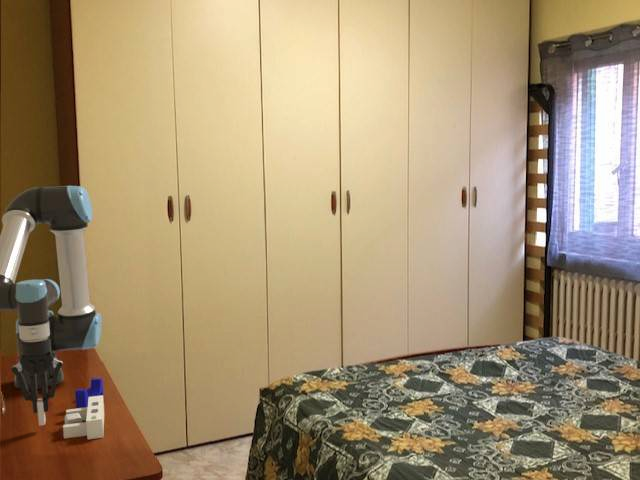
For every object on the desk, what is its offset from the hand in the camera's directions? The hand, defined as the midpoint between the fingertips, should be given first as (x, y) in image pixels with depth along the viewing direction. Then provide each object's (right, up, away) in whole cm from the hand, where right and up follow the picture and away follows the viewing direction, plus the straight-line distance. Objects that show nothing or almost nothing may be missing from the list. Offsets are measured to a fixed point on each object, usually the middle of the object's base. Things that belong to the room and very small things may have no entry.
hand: (42, 423), depth 193 cm
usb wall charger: (+8, -2, +2) cm, 8 cm away
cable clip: (+5, 0, +22) cm, 22 cm away
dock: (+12, -2, +3) cm, 12 cm away
